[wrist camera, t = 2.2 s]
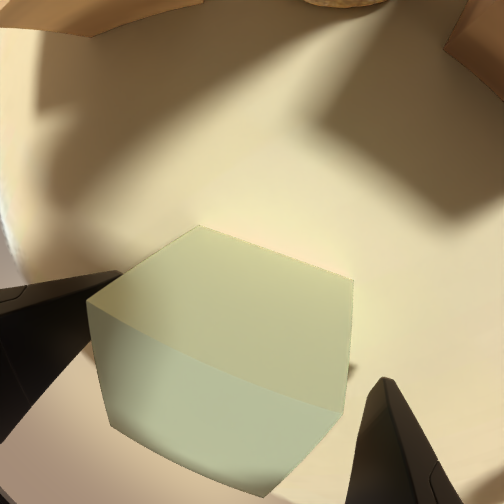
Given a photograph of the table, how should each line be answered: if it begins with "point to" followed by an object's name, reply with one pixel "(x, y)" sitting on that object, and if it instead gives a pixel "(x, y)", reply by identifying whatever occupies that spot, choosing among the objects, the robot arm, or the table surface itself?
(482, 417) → the table surface
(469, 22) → the walnut cube
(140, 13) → the oak cube
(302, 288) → the sage cube
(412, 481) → the robot arm
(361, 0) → the spice jar
